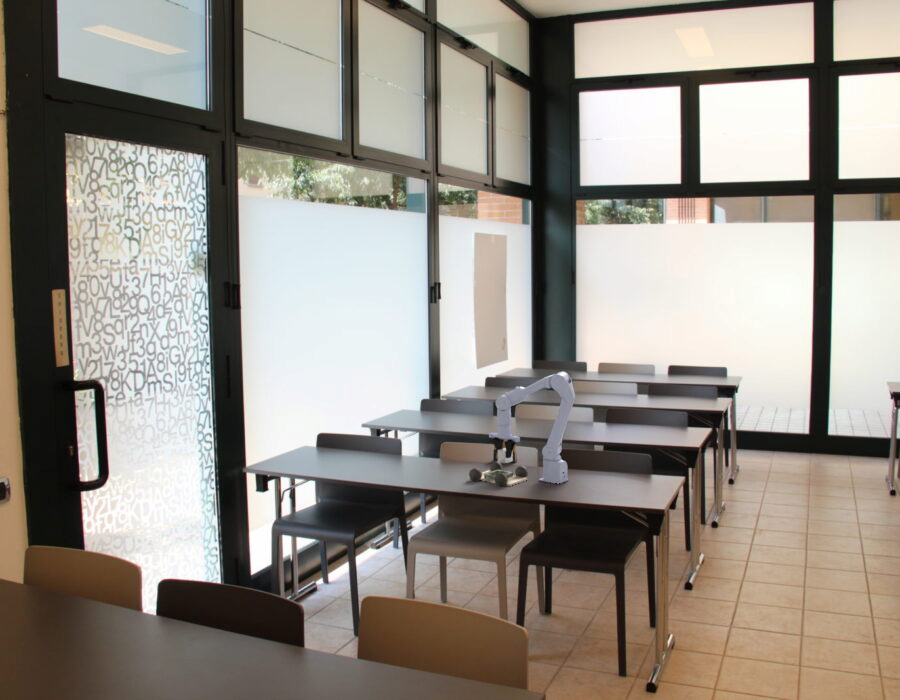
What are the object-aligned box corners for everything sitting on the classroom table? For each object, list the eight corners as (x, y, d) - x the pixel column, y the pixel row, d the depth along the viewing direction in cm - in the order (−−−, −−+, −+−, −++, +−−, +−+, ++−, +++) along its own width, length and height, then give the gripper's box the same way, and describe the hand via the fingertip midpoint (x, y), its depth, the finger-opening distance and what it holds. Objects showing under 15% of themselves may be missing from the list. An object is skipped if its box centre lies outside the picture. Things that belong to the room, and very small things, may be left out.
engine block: (512, 461, 352) (512, 449, 351) (505, 463, 348) (505, 451, 347) (505, 459, 354) (505, 447, 354) (497, 461, 350) (497, 449, 350)
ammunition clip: (516, 462, 376) (516, 435, 374) (515, 463, 374) (514, 436, 373) (495, 459, 381) (494, 433, 379) (493, 460, 379) (492, 434, 378)
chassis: (530, 479, 347) (530, 467, 346) (506, 487, 335) (506, 475, 334) (491, 471, 360) (490, 460, 359) (467, 479, 348) (467, 467, 347)
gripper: (524, 424, 347) (524, 457, 349) (496, 420, 357) (496, 452, 358) (513, 427, 342) (514, 460, 343) (485, 423, 351) (485, 455, 353)
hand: (504, 456), depth 350 cm, fingers closed on engine block, 4 cm apart
